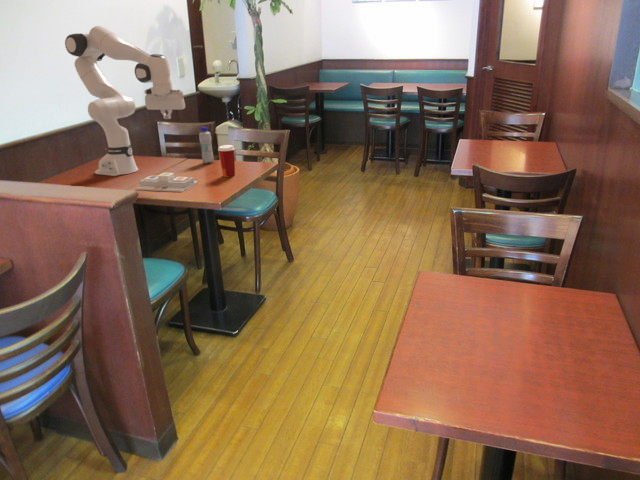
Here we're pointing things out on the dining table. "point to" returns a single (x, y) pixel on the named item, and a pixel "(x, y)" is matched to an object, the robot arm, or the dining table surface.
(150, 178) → the charcoal key
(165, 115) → the robot arm
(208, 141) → the bottle
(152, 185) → the keypad base
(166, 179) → the sage key
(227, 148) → the coffee cup
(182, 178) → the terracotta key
